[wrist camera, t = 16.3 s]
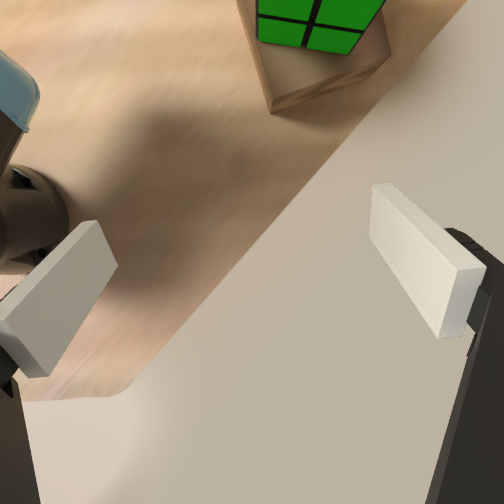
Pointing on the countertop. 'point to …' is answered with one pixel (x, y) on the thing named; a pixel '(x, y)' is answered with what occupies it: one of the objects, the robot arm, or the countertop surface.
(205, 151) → the countertop surface
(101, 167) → the countertop surface
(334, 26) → the puzzle cube
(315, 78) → the walnut block
